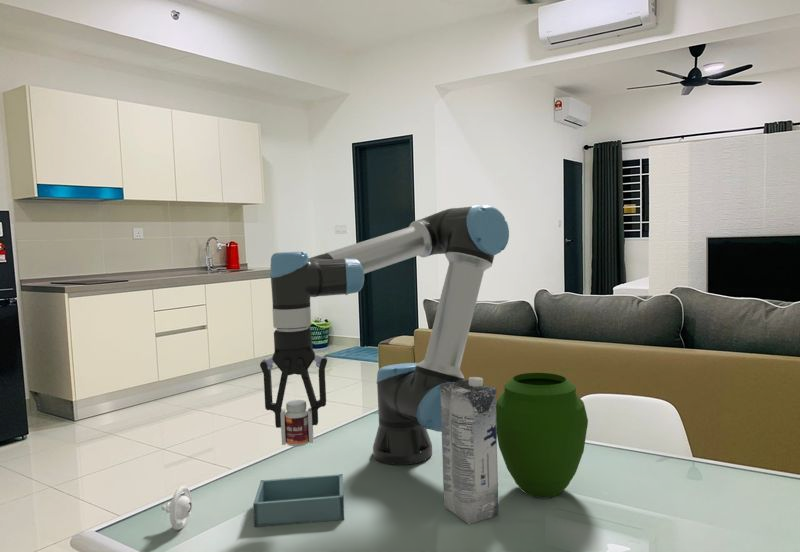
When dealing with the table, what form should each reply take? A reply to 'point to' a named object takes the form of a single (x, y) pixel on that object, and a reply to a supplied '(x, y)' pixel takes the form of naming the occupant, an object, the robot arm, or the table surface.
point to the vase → (541, 432)
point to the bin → (299, 500)
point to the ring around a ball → (179, 507)
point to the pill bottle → (296, 423)
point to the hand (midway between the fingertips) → (297, 441)
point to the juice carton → (469, 449)
